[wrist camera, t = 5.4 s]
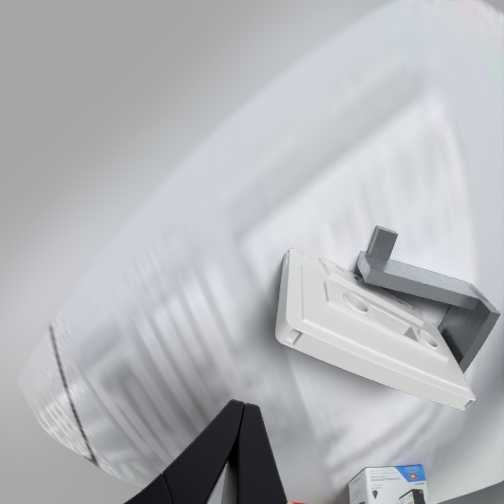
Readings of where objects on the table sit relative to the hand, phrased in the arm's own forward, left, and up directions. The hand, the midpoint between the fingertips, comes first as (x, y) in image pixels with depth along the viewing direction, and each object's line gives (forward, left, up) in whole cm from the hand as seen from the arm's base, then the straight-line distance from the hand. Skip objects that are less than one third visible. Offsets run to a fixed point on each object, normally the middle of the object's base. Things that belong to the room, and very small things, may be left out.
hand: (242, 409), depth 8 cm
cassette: (-6, 0, -11) cm, 13 cm away
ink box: (-21, +23, -11) cm, 33 cm away
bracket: (-9, 0, -11) cm, 14 cm away
